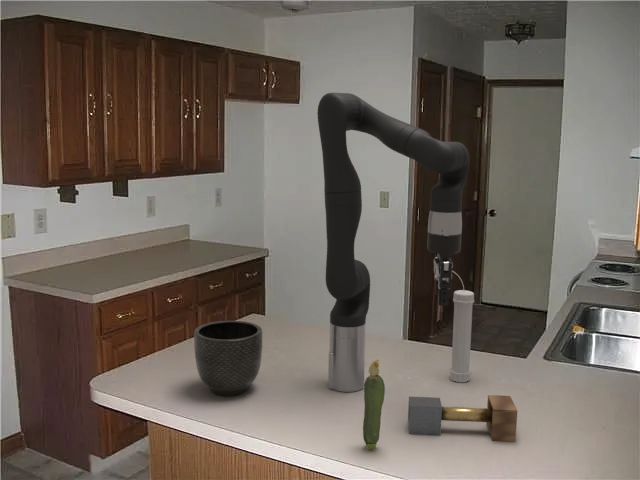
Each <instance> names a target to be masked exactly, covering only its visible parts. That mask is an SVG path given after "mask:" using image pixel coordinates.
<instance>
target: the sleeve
mask: <svg viewBox="0 0 640 480" xmlns="http://www.w3.org/2000/svg"><path fill="white" fill-rule="evenodd" d="M442 407H443V406H442V402H441V398H440V397H427V396H408V411H407V412H408V413H407V428H408V434H409V435H427V436H429V435H430V436H442V435H441V434H442V420H441V418H442Z"/></svg>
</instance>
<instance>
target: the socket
mask: <svg viewBox="0 0 640 480" xmlns="http://www.w3.org/2000/svg"><path fill="white" fill-rule="evenodd" d="M486 407H487V409H493V415H492V423H490V422H485V423H486V424H485V425H486V428H487V430H488V433H489V435H490V439H491V441H493V442H494V441H496V442H497V441H498V442H515V443H516V441H517V440H516V437H517V424H518V423H517V421H518V409H517V407H516V405H515V403H514V400H513V398H512V396H510V395H501V394H500V395H497V394H496V395H495V394H488V395H487V406H486Z"/></svg>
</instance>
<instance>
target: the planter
mask: <svg viewBox="0 0 640 480" xmlns="http://www.w3.org/2000/svg"><path fill="white" fill-rule="evenodd" d="M193 332H194V333H193V340H194V341H193V344H194V345H193V346H194V358H195V365H196V370H197V374H198V376H199V379H200V380H201V381H202V382H203V384H204V385H205V386H207V387H208V388H209V389H210V391H211V392H212V393H213V394H215V395H216V396H217V395H218V396H221V397H231V396H232V397H233V396H238V395H241V394H243V393H245V392H246V391H247V390H248V387H249V386H250V385H252V384H253V383H254V382H255V380H256V378H257V377H258V374H259V372H260V369H261V363H262V357H263V355H262V354H263V328H262V327H261V326H260V325H258V324H256V323H253V322H249V321H244V320H220V321H218V320H217V321H213V322H212V321H211V322H208V323H205V324H202V325H199V326H198V327H196V328H195V329H194V331H193Z"/></svg>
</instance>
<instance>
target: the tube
mask: <svg viewBox="0 0 640 480" xmlns="http://www.w3.org/2000/svg"><path fill="white" fill-rule="evenodd" d="M492 415H493V409H487V408H484V407H483V408H482V407H481V408H480V407H464V406H463V407H462V406H461V407H460V406H458V407H457V406H442V418H441V421H447V422H448V421H449V422H452V421H453V422H471V423H473V422H475V423H486V422H490V423H492Z"/></svg>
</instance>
